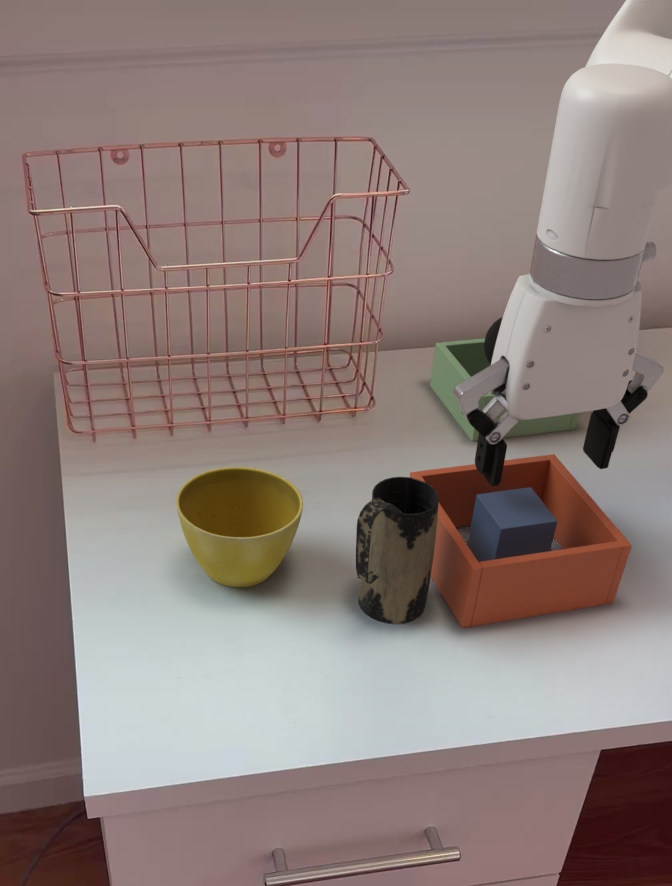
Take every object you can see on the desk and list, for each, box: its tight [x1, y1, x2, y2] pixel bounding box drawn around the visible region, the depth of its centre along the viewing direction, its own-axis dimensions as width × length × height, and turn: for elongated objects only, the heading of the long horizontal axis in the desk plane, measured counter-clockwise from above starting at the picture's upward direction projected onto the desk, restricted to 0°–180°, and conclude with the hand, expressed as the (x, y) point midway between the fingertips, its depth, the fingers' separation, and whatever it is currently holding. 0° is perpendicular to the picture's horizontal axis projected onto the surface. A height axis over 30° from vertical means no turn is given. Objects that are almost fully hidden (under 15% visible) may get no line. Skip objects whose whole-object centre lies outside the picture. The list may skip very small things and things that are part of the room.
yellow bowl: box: [175, 466, 304, 588], centre depth 84 cm, size 10×10×7 cm
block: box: [466, 487, 557, 562], centre depth 86 cm, size 5×5×6 cm
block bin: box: [409, 453, 632, 629], centre depth 86 cm, size 14×14×7 cm
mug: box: [355, 476, 439, 625], centre depth 79 cm, size 8×6×12 cm
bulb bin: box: [429, 337, 581, 442], centre depth 107 cm, size 12×12×6 cm
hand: (542, 468), depth 85 cm, fingers open, 9 cm apart
